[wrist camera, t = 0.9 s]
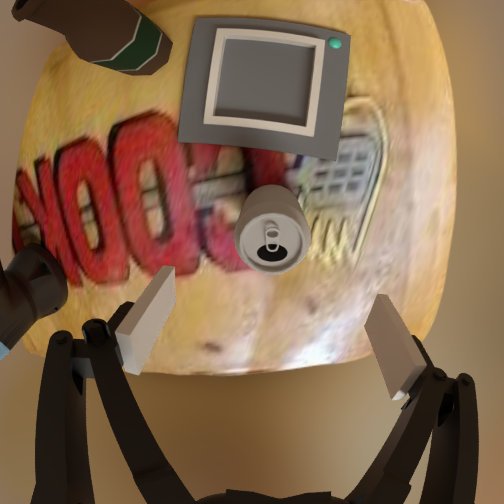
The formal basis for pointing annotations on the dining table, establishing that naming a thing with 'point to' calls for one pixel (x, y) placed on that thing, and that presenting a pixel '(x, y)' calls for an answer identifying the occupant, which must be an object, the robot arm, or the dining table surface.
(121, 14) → the beer bottle
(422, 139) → the dining table surface
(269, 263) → the can
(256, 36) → the dock
